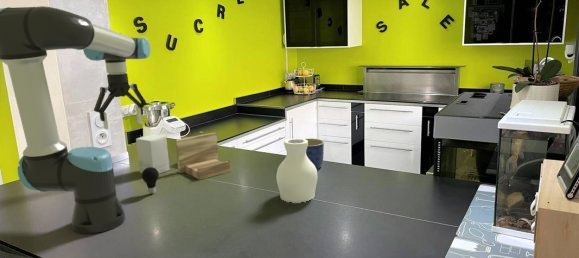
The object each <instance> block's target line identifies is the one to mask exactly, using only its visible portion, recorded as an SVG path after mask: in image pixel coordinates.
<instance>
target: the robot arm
mask: <svg viewBox="0 0 579 258" xmlns="http://www.w3.org/2000/svg"><path fill="white" fill-rule="evenodd" d="M68 49H69V50H71V49H72V50H77V51H81V50H83V54H84V56H85V57H86V58H87V59H88V60H90V61H94V62H97V61H98V62H100V61H105V69H106V70H105V71H106V73H107V75H106V76H107V77H106V80H107V84H108V86H107V87H104V86H100V87H99V95H98V96H97V99H96V103H95V105H94V108H93V111H94V112H95V113H99V118H100V121H101V122H103V128H104V130H109V123H108V115H107V112H105V111H106V110H107V108H108V107H109V105H110V104H111V103H112V101H113V100H114V99H115V98H120V97H123V98H124V97H127V98H128V99H129V100H130V101H132V102H133V103H134V105H136V107H135V108H136V111H135V112H136V118H137V124H140V125H141V124H143V119H142V116H143V115H144V108H145V106H147V105H148V103H147V102H146V99H144V96H143V95H142V93H141V92H140V90H139V89H138V88H139V87H138V85H137V84H136V83H131V84H129V77H128V76H129V75H128V73H127V72H128V67H127V60H143V59H144V60H145V59H148V58H149V57H150V55H151V44H150V41H149V40H148V39H147V38H146V37H132V36H128V35H126V34H122V33H121V32H117V31H114V30H111V29H108V28H105V27H103V26H100V25H97V24H94V23H92V21H91V20H89V18H88V17H85V16H83V15H82V16H81V15H79V14H78V13H77V14H76V13H73V12H70V11H68V10H63V9H62V8H61V9H60V8H58V7H52V6H46V5H45V6H41V5H40V6H25V7H24V6H23V7H22V6H21V7H12V6H11V7H9V6H8V7H2V8H0V61H1V62H2V63H4V64H5V65H6V66H7V68H8V71H9V76H10V80H11V84H12V85H11V86H12V88H13V89H12V90H13V93H14V97H15V101H16V104H17V109H18V113H19V117H20V122H21V126H22V129H23V134H24V138H25V143H26V147H25V148H24V150H23V151H22V154H23V155H22V156H21V157H20V159H19V161H18V165H19V166H17V175H18V179H19V180H20V182H21V184H22V185H23V186H24V187H26V188H27V190H31V191H36V192H37V191H39V192H44V193H46V192H73V197H74V208H73V212H72V217H71V221H70V222H71V229H72V230H73V232H75V233H78V234H97V233H103V232H107V231H110V230H112V229H115V228H117V227H118V226H121V225H122V224H123V223H124V222H125V220H126V213H125V209H124V208H123V206H122V203H121V202H120V200H119V198H118V196H117V189H116V182H115V172H114V163H113V162H114V161H113V158H112V154H111V153H110V151H109V150H108V149H105V148H103V147H97V146H86V147H84V146H81V147H76V148H72V149H70V150H68V147H67V143H65V142H64V141H62V140H61V139H60V136H59V130H58V127H57V121H56V118H55V116H56V115H55V113H54V112H55V111H54V107H53V104H52V97H51V94H50V91H49V85H48V80H47V76H46V72H45V67H44V60H45V59H46V57H48V52H47V51H56V50H68ZM130 89H131V90H132V91H133V92H134V94H135V96H136V98H135V96H134V95H133V94H132V93H131V92H129V90H130ZM108 92H109V93H108ZM106 93H108V95H107V97H106V99H105V101H104V98H105V95H106ZM137 98H138V99H137ZM103 101H104V102H103Z"/></svg>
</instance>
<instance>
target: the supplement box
mask: <svg viewBox="0 0 579 258" xmlns="http://www.w3.org/2000/svg"><path fill="white" fill-rule="evenodd" d="M167 142H168V141H167V136H165V135H158V134H148V135H147V136H146V135H145V136H140V137H137V138H135V144H136V150H137V152H136V153H137V160H138V167H139V173H140V174H142V172H143V171H144V170H145V169H146V168H148V167H153V168H155V169H157V171H158V173H159V175H160V174H162V173H164V172H168V171H170V161H169V149H168V143H167Z"/></svg>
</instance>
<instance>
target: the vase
mask: <svg viewBox="0 0 579 258" xmlns="http://www.w3.org/2000/svg"><path fill="white" fill-rule="evenodd" d="M306 139H307V138H297V137H296V138H289V139H286V140H284V141H283V145H284V149H285V151H286V155H285V158H284V159H283V160H282V162H281V163H280V164H279V166H277V170H276V175H275V176H276V183H277V187H278V191H279V195H280V196H279V198H280V200H282V201H283V200H284V201H283V202H285V201H286V202H285V203H289V202H292V203H291V204H302V203H301V202H304V203H307V202H306V201H309V200H311V199H313V198H314V197H315V195H316V194H315V193H316V188H317V184H318V169H316V167H315V166H314V164H313V163H312V162H311V161H310V160H309V159H308V157H307V155H306V149H307V146H308V140H306ZM314 199H315V198H314ZM314 199H313V200H314ZM311 201H312V200H311ZM309 202H310V201H309Z"/></svg>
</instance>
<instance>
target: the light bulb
mask: <svg viewBox="0 0 579 258" xmlns="http://www.w3.org/2000/svg"><path fill="white" fill-rule="evenodd" d="M159 176H160V174H159V173H158V171H157V169H155V168H153V167H148V168H146V169H145V170H144V171H143V172H142V173H141V179H142V180H143V182H145V184H146V187H147V190H148V191H147V192H148V193H149V194H151V195H153V194H155V192H156V187H157V181H158V180H159Z"/></svg>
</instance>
